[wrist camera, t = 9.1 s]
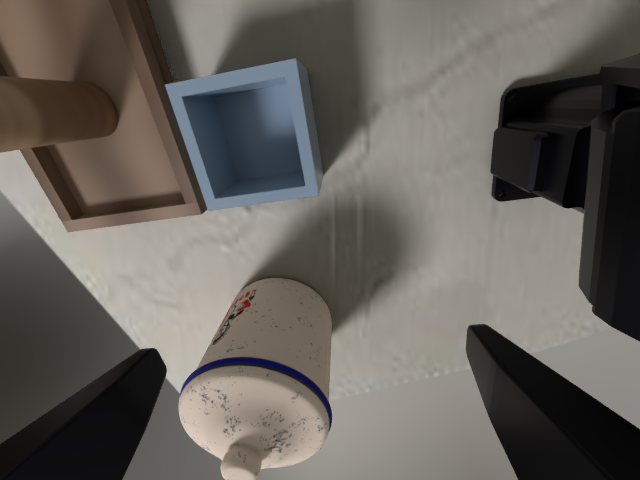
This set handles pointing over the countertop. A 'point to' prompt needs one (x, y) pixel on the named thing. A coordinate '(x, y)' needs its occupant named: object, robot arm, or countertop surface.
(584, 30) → the countertop surface
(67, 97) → the dowel pin
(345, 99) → the countertop surface
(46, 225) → the countertop surface
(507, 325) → the countertop surface
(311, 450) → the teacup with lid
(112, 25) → the tray
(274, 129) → the holder cup
